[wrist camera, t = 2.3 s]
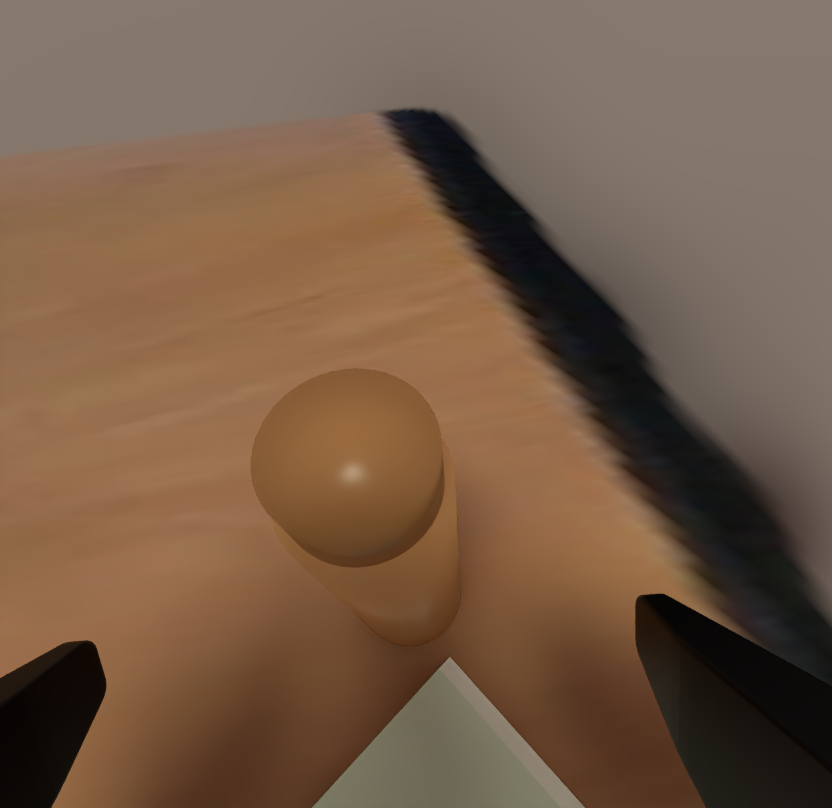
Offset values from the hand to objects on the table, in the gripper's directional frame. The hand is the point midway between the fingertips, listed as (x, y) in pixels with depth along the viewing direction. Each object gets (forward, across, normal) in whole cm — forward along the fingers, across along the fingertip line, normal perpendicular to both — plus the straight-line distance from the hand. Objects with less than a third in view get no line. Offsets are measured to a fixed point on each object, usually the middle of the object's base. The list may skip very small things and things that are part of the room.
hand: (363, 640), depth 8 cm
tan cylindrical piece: (+9, 0, +5) cm, 10 cm away
